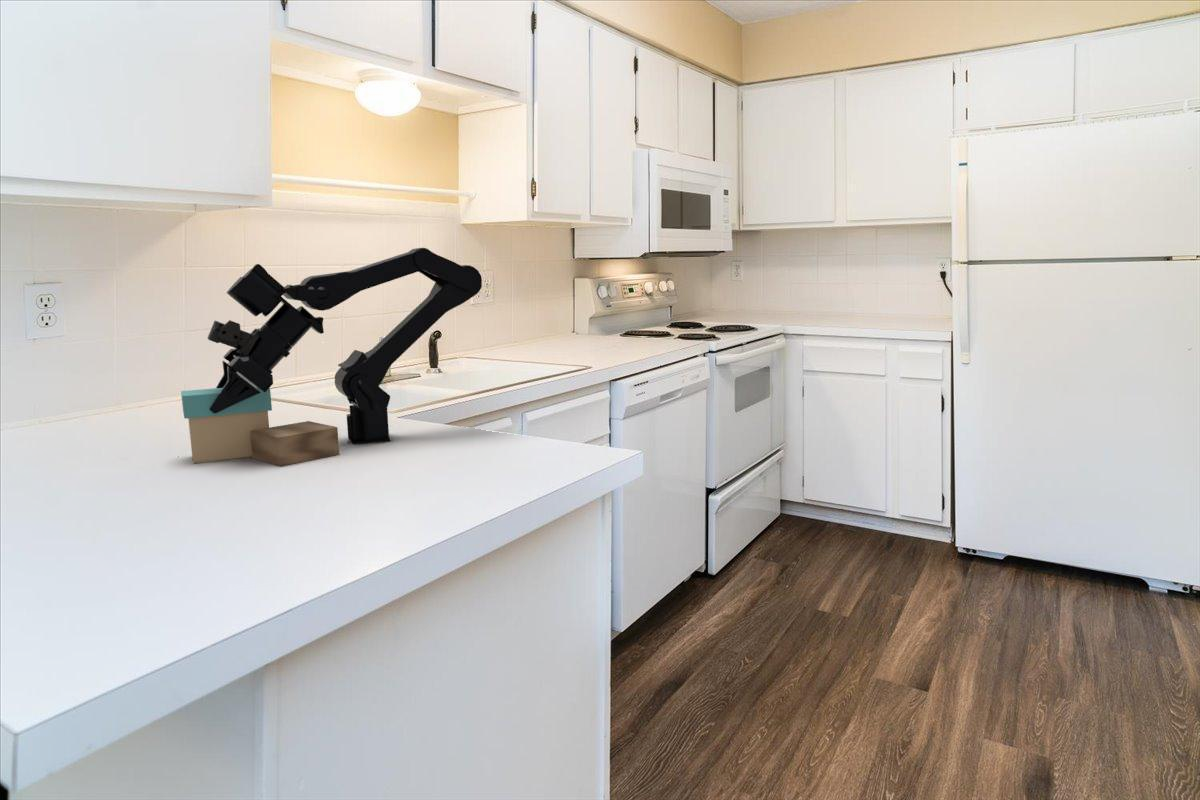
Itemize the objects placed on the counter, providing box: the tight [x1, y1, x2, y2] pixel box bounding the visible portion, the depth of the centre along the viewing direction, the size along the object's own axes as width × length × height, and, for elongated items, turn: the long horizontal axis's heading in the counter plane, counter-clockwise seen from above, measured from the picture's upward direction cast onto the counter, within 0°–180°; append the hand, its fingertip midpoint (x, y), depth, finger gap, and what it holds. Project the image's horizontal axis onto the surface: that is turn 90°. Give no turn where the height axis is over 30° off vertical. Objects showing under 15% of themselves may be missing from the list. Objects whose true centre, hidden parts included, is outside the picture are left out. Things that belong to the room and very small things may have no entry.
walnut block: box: [250, 420, 340, 467], centre depth 127 cm, size 10×9×4 cm
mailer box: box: [187, 411, 270, 464], centre depth 128 cm, size 11×5×9 cm, turn 119°
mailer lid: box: [180, 387, 273, 419], centre depth 127 cm, size 13×7×4 cm, turn 119°
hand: (210, 408), depth 126 cm, fingers closed on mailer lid, 7 cm apart
